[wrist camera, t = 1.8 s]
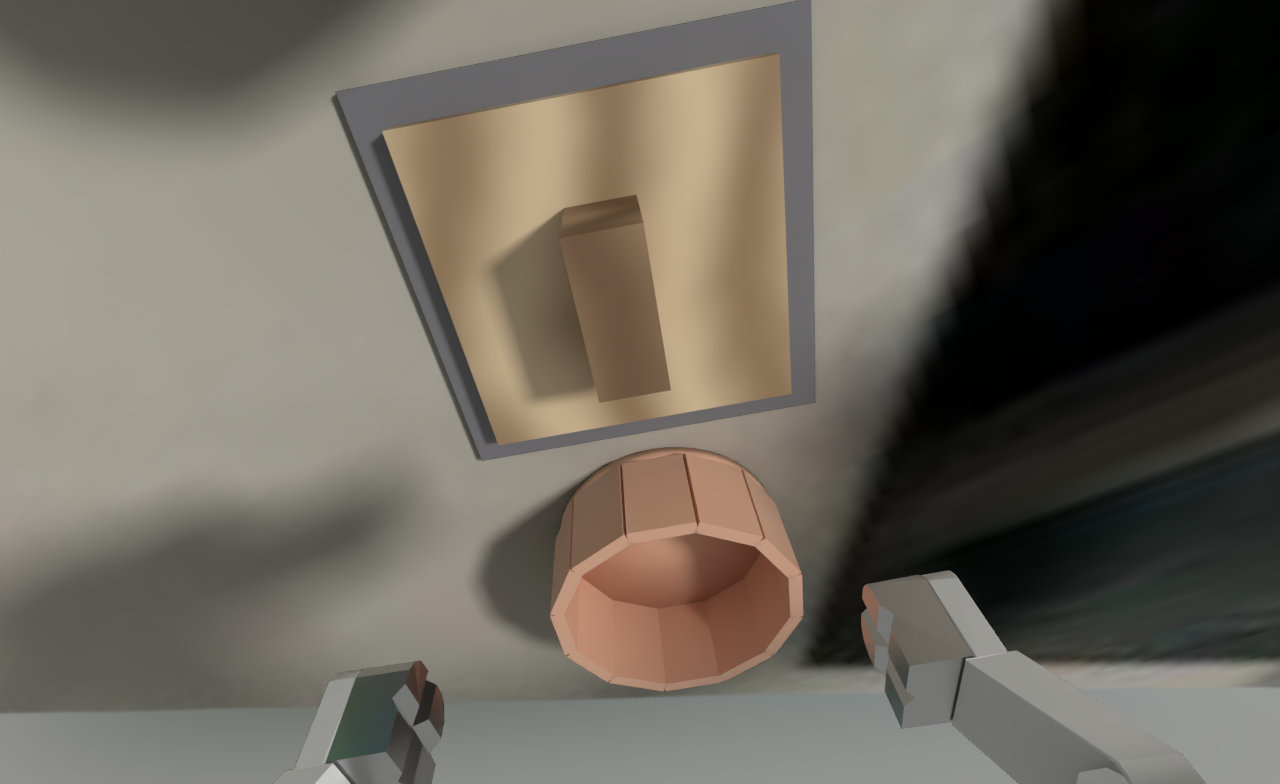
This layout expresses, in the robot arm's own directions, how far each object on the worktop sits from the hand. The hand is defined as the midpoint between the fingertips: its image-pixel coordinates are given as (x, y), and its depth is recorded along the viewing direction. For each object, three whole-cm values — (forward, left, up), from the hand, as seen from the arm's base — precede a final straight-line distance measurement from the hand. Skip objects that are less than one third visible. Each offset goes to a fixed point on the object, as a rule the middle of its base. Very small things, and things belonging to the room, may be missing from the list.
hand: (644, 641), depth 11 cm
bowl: (0, +17, -19) cm, 26 cm away
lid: (0, 0, -19) cm, 19 cm away
